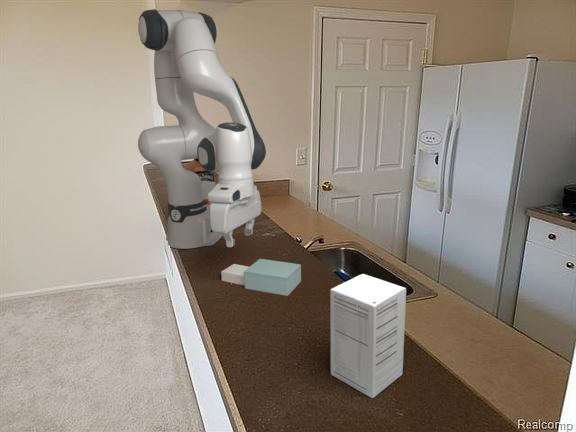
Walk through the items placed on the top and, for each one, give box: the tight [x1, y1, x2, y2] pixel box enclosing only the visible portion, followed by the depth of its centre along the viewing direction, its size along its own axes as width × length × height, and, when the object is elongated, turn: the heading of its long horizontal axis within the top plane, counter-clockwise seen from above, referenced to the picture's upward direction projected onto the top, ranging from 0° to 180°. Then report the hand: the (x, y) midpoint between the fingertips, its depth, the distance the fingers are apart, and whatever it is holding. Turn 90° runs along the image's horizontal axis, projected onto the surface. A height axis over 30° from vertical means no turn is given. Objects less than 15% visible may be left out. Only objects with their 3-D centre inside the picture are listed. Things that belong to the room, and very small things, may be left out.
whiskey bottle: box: [185, 158, 215, 182], centre depth 181 cm, size 10×10×32 cm
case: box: [244, 258, 302, 297], centre depth 112 cm, size 9×12×5 cm
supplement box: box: [329, 273, 407, 399], centre depth 74 cm, size 10×9×17 cm
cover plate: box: [220, 263, 250, 287], centre depth 115 cm, size 6×14×3 cm, turn 62°
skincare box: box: [201, 181, 216, 211], centre depth 166 cm, size 8×7×16 cm
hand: (240, 240), depth 112 cm, fingers open, 8 cm apart
